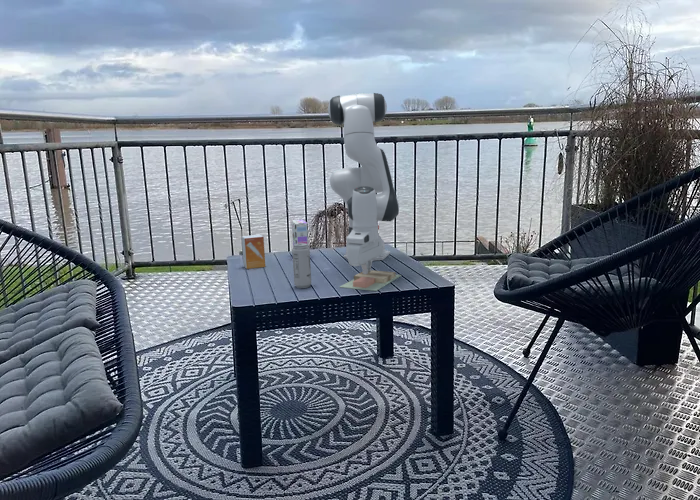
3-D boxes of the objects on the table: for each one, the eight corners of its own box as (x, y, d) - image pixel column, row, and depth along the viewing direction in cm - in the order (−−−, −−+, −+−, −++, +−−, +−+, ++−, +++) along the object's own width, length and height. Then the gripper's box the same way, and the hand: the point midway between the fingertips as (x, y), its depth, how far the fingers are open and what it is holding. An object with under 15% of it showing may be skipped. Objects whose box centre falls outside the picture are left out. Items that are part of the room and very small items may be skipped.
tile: (362, 281, 185) (361, 276, 184) (374, 282, 182) (374, 277, 182) (353, 286, 179) (352, 281, 178) (366, 287, 176) (365, 282, 176)
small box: (246, 269, 213) (244, 238, 211) (243, 266, 219) (241, 236, 216) (266, 267, 216) (263, 236, 214) (262, 264, 222) (260, 234, 219)
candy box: (310, 260, 226) (308, 222, 223) (296, 261, 225) (294, 223, 222) (305, 254, 239) (303, 218, 236) (293, 255, 238) (291, 219, 235)
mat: (367, 272, 198) (367, 272, 198) (401, 275, 192) (401, 275, 192) (339, 287, 179) (339, 286, 179) (376, 291, 173) (376, 290, 173)
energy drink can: (312, 287, 180) (309, 245, 178) (294, 289, 180) (292, 246, 177) (310, 283, 186) (308, 242, 183) (294, 284, 185) (291, 243, 183)
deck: (366, 274, 195) (366, 269, 195) (395, 277, 190) (395, 272, 189) (354, 281, 187) (353, 276, 186) (384, 284, 181) (384, 278, 181)
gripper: (370, 229, 190) (371, 265, 193) (343, 239, 172) (345, 279, 175) (386, 229, 187) (387, 267, 190) (360, 239, 169) (362, 280, 172)
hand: (366, 273), depth 182 cm, fingers closed
